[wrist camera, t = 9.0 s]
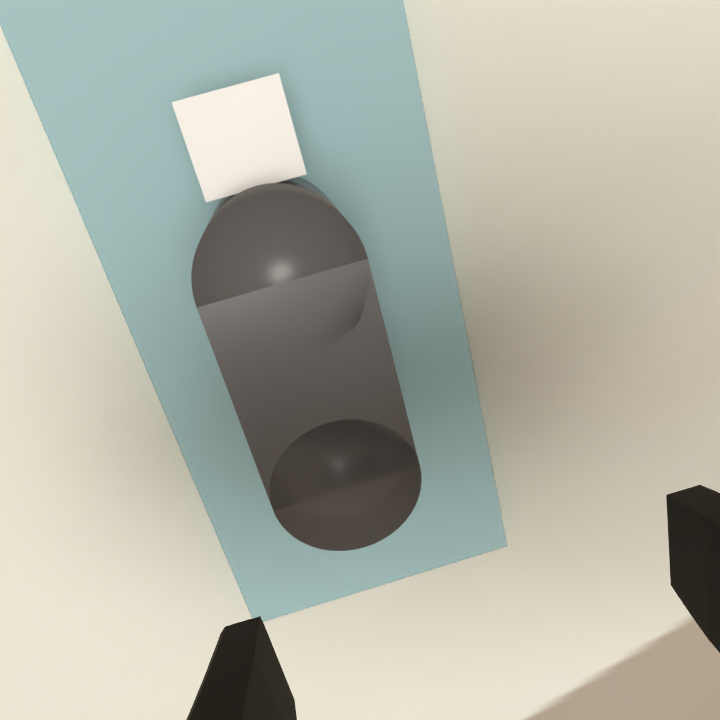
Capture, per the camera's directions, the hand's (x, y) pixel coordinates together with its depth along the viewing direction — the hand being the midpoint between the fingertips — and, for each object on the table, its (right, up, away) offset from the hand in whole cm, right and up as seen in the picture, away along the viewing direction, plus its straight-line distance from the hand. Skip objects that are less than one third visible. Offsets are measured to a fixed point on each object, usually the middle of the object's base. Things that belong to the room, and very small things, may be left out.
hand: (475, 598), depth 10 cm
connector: (-4, +5, +7) cm, 9 cm away
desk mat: (-4, +5, +8) cm, 10 cm away
